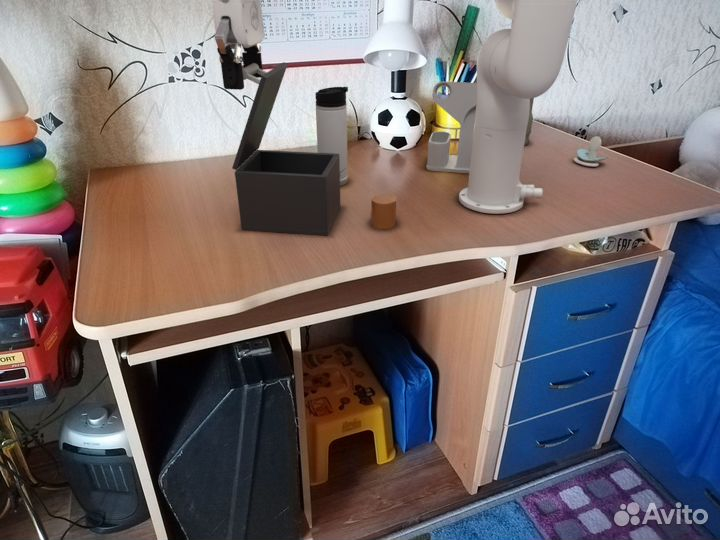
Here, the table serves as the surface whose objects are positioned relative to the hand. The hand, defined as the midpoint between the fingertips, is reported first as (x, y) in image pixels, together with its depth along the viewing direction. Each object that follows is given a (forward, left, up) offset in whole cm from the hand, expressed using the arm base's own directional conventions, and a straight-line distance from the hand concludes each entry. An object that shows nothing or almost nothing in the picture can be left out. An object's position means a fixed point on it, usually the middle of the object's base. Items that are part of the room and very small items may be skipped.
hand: (244, 82), depth 90 cm
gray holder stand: (-39, -34, -24) cm, 57 cm away
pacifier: (-68, -40, -24) cm, 83 cm away
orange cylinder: (-24, 0, -24) cm, 34 cm away
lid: (-3, 0, -6) cm, 6 cm away
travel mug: (-11, -19, -24) cm, 33 cm away
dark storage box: (-7, 0, -24) cm, 25 cm away
